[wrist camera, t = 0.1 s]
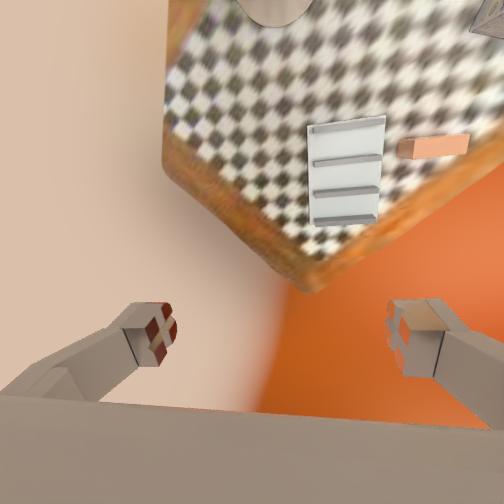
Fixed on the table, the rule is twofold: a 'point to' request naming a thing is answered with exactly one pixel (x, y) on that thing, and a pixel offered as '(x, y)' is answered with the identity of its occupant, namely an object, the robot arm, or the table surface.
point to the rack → (345, 171)
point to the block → (433, 146)
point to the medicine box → (490, 19)
